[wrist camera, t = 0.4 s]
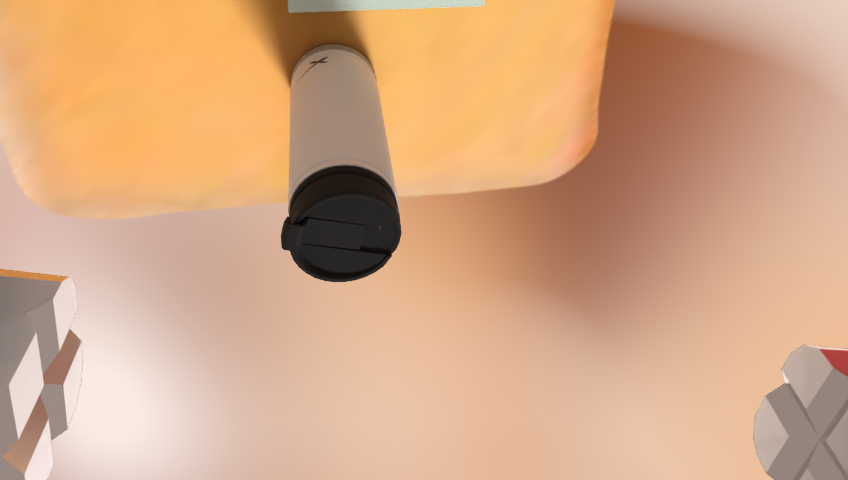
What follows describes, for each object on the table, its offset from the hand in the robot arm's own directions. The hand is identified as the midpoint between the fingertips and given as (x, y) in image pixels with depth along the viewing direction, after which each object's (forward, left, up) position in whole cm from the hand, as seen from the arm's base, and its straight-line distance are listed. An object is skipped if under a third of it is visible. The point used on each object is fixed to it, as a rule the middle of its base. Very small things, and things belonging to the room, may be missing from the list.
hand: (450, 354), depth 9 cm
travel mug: (+19, -1, -48) cm, 51 cm away
